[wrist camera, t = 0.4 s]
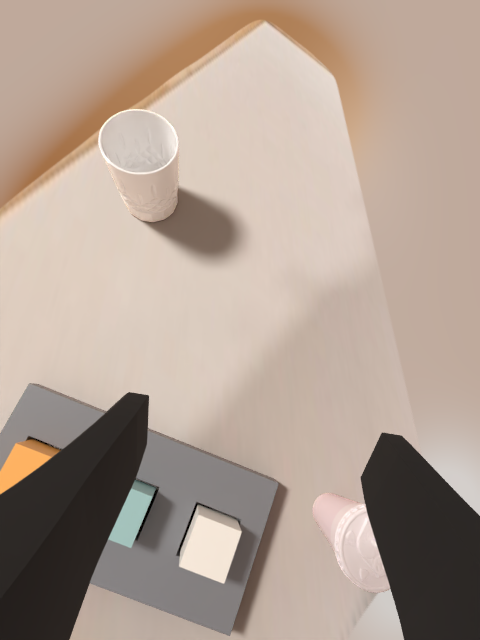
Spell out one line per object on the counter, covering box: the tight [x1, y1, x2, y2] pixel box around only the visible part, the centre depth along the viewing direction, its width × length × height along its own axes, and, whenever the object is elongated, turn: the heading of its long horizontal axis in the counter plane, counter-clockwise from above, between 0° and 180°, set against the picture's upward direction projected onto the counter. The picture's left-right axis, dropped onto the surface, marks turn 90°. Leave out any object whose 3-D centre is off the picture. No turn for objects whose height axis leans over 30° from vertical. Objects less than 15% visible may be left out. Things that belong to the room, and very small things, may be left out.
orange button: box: [0, 439, 61, 494], centre depth 30 cm, size 4×4×3 cm
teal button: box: [109, 480, 156, 548], centre depth 31 cm, size 4×4×3 cm
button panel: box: [0, 383, 279, 636], centre depth 33 cm, size 14×28×2 cm, turn 69°
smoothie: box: [313, 493, 390, 593], centre depth 29 cm, size 6×6×14 cm
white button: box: [179, 504, 242, 584], centre depth 31 cm, size 4×4×3 cm
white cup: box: [99, 109, 179, 222], centre depth 37 cm, size 8×8×10 cm
